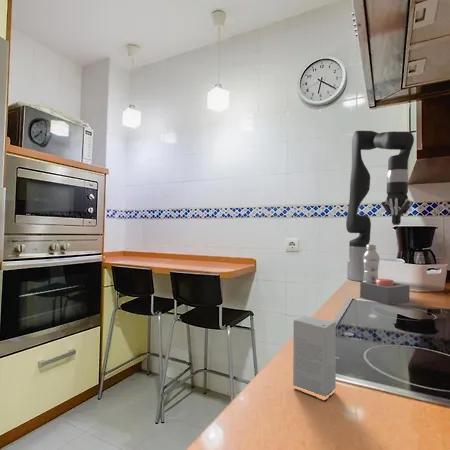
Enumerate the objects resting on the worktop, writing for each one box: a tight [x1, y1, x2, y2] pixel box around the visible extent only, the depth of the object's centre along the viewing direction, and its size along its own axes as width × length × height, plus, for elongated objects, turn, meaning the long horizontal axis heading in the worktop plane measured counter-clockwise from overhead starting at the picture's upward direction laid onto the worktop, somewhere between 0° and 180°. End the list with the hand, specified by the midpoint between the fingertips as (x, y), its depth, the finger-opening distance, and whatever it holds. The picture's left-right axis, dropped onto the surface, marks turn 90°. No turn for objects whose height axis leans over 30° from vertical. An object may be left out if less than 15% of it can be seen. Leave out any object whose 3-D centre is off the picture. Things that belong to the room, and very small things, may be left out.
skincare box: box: [292, 315, 337, 397], centre depth 54 cm, size 6×4×12 cm
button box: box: [359, 281, 411, 306], centre depth 120 cm, size 12×12×6 cm
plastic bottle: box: [362, 244, 380, 282], centre depth 132 cm, size 6×7×20 cm
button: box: [376, 278, 394, 286], centre depth 120 cm, size 6×6×5 cm
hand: (396, 224), depth 127 cm, fingers closed
